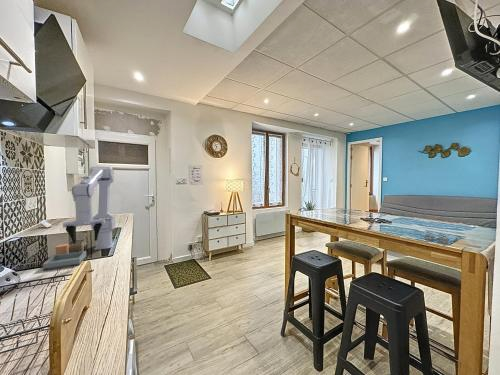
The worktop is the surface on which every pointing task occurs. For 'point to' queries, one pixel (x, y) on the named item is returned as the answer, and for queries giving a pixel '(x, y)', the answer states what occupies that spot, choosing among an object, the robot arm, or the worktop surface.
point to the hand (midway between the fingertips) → (85, 241)
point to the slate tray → (64, 260)
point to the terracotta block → (62, 249)
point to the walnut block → (75, 248)
